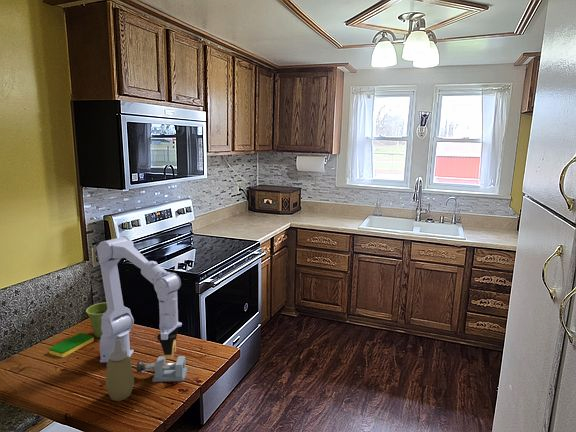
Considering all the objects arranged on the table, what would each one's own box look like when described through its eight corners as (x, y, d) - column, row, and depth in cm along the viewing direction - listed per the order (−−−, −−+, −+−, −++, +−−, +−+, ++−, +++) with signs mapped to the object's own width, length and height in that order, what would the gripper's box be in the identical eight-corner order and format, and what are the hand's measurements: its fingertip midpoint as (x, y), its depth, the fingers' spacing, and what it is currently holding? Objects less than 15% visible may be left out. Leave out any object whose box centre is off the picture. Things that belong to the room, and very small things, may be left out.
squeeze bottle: (106, 406, 116) (102, 349, 112) (106, 390, 123) (103, 337, 120) (135, 400, 119) (132, 344, 116) (134, 385, 126) (131, 332, 123)
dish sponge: (94, 341, 154) (94, 335, 154) (62, 358, 141) (62, 352, 141) (81, 338, 157) (80, 332, 156) (48, 354, 144) (48, 348, 144)
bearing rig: (152, 381, 128) (151, 366, 127) (157, 370, 134) (156, 355, 133) (183, 380, 129) (183, 365, 128) (187, 370, 135) (186, 355, 134)
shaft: (136, 374, 129) (136, 365, 128) (139, 368, 132) (139, 359, 132) (175, 373, 130) (175, 364, 129) (177, 368, 133) (177, 358, 133)
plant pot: (90, 329, 163) (88, 303, 161) (121, 326, 167) (119, 300, 165) (85, 342, 152) (83, 315, 150) (118, 339, 156) (117, 312, 154)
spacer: (164, 358, 128) (164, 347, 127) (168, 350, 133) (167, 339, 132) (172, 358, 128) (172, 347, 127) (176, 350, 133) (175, 339, 132)
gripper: (176, 320, 121) (177, 361, 123) (185, 302, 135) (186, 339, 137) (153, 320, 120) (154, 361, 123) (164, 302, 135) (165, 339, 137)
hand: (169, 349), depth 130 cm, fingers closed on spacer, 5 cm apart
